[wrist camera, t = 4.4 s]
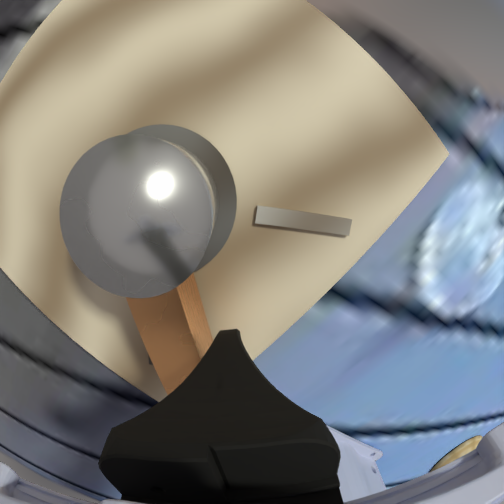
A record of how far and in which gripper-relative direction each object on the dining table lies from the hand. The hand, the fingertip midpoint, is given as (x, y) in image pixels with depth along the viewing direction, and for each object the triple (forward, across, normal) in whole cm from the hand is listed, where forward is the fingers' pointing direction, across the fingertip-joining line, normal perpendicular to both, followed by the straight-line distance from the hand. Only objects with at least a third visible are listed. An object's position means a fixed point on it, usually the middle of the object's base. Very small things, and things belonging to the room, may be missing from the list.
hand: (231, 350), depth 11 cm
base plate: (+3, +3, -8) cm, 9 cm away
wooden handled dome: (+1, +2, -3) cm, 4 cm away
